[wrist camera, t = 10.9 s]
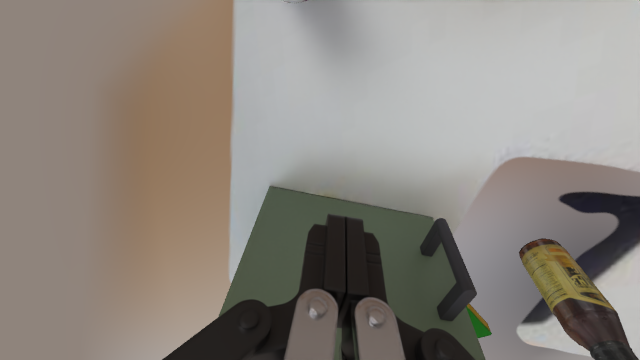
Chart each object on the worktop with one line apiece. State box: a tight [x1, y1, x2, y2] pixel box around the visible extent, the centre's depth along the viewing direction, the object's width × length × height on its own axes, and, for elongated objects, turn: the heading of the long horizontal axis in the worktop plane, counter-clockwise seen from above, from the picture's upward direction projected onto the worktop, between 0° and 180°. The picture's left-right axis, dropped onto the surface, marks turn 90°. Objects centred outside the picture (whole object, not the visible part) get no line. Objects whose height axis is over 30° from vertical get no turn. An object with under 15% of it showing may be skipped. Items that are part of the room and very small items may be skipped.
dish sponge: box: [466, 304, 492, 338], centre depth 57 cm, size 7×14×2 cm, turn 41°
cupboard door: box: [219, 186, 485, 360], centre depth 31 cm, size 7×26×24 cm, turn 80°
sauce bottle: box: [519, 239, 639, 360], centre depth 37 cm, size 6×6×20 cm
